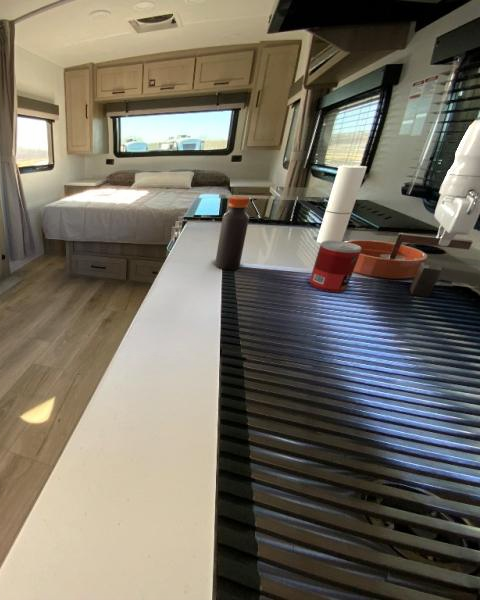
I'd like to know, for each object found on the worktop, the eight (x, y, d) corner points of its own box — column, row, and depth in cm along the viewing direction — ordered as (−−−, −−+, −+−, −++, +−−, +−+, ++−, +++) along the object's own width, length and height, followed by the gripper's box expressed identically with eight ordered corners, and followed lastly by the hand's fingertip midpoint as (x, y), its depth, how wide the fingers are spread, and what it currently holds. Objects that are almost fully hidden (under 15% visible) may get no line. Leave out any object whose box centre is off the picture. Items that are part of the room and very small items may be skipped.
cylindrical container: (340, 240, 118) (365, 165, 107) (341, 246, 113) (368, 167, 101) (316, 238, 121) (338, 165, 110) (316, 243, 116) (339, 167, 105)
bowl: (414, 264, 96) (422, 246, 94) (422, 286, 83) (432, 265, 81) (336, 253, 107) (341, 236, 104) (333, 271, 93) (339, 252, 91)
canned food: (347, 295, 80) (363, 251, 75) (308, 288, 84) (321, 247, 79) (345, 283, 86) (360, 243, 81) (308, 278, 90) (320, 238, 85)
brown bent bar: (452, 271, 87) (469, 238, 83) (456, 277, 84) (474, 243, 80) (376, 260, 96) (388, 230, 92) (377, 266, 92) (390, 234, 88)
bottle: (241, 271, 96) (255, 200, 87) (216, 270, 97) (228, 200, 88) (236, 263, 101) (249, 195, 93) (213, 262, 103) (223, 195, 94)
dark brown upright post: (426, 291, 81) (439, 264, 77) (428, 297, 78) (442, 270, 75) (409, 288, 82) (421, 262, 79) (411, 294, 79) (423, 267, 76)
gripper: (501, 194, 70) (468, 257, 76) (475, 182, 84) (450, 235, 90) (458, 192, 73) (431, 252, 79) (441, 181, 88) (419, 232, 94)
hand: (441, 243), depth 85 cm, fingers closed on brown bent bar
